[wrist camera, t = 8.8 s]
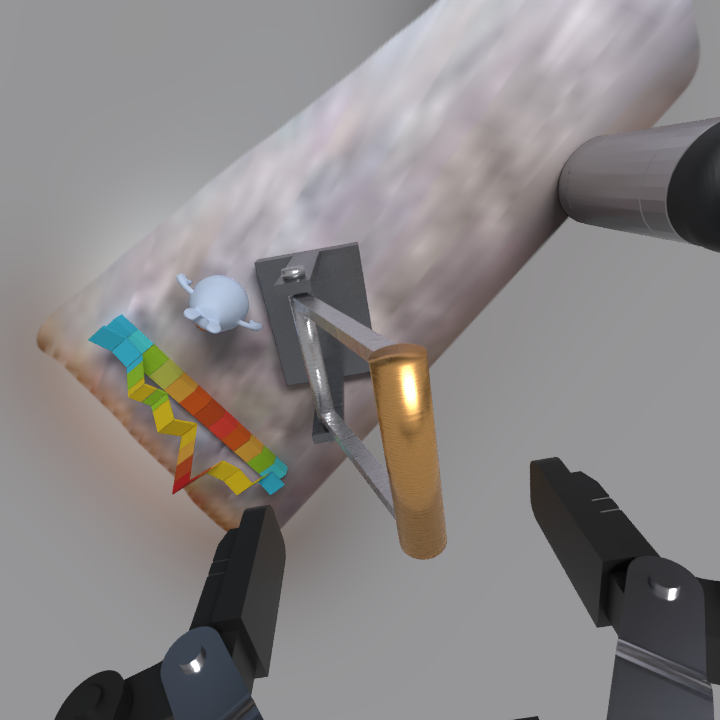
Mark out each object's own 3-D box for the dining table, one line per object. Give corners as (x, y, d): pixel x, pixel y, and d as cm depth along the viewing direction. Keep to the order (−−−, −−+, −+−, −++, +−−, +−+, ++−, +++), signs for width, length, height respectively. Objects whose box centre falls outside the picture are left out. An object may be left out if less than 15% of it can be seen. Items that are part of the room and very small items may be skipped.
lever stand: (356, 235, 48) (361, 260, 34) (378, 369, 55) (390, 438, 41) (255, 252, 49) (218, 285, 34) (290, 383, 56) (271, 457, 41)
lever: (310, 288, 38) (438, 355, 20) (337, 408, 43) (456, 545, 26) (279, 296, 37) (384, 374, 19) (310, 418, 42) (415, 567, 25)
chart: (106, 328, 52) (21, 383, 38) (122, 313, 51) (42, 363, 38) (272, 476, 62) (251, 561, 49) (287, 465, 62) (271, 548, 48)
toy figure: (179, 288, 50) (132, 319, 39) (203, 245, 48) (162, 265, 37) (255, 336, 53) (232, 377, 42) (281, 297, 51) (264, 330, 40)
